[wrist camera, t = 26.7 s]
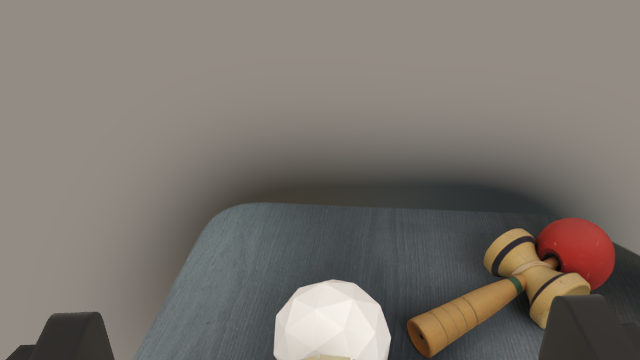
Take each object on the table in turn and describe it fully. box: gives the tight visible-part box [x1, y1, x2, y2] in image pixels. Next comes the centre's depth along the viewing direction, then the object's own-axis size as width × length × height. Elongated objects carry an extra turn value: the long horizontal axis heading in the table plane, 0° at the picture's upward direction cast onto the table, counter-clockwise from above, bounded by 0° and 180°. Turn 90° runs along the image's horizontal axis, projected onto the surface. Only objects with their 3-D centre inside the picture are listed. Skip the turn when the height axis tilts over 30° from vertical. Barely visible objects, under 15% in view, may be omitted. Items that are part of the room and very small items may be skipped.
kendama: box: [407, 218, 615, 358], centre depth 46 cm, size 8×6×18 cm
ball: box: [274, 279, 391, 360], centre depth 41 cm, size 8×8×8 cm
